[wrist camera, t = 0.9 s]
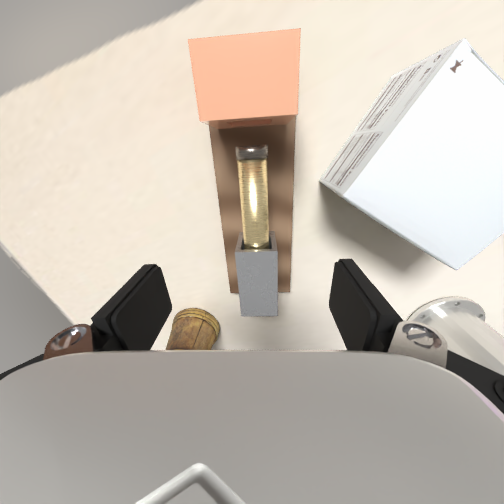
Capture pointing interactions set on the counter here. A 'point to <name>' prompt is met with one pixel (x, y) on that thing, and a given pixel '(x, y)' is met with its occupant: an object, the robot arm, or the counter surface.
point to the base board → (278, 190)
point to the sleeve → (257, 278)
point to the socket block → (246, 78)
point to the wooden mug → (193, 330)
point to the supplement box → (431, 156)
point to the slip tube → (253, 195)
